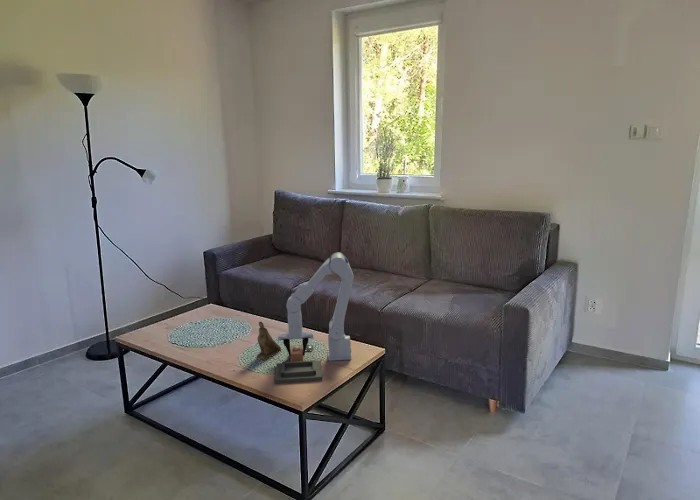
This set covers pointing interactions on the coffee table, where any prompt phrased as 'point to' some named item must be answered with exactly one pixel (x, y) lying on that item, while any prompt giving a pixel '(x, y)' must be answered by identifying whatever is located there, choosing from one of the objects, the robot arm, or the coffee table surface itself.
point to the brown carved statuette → (266, 343)
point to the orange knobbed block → (296, 353)
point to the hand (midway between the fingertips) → (296, 355)
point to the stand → (298, 371)
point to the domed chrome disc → (309, 347)
